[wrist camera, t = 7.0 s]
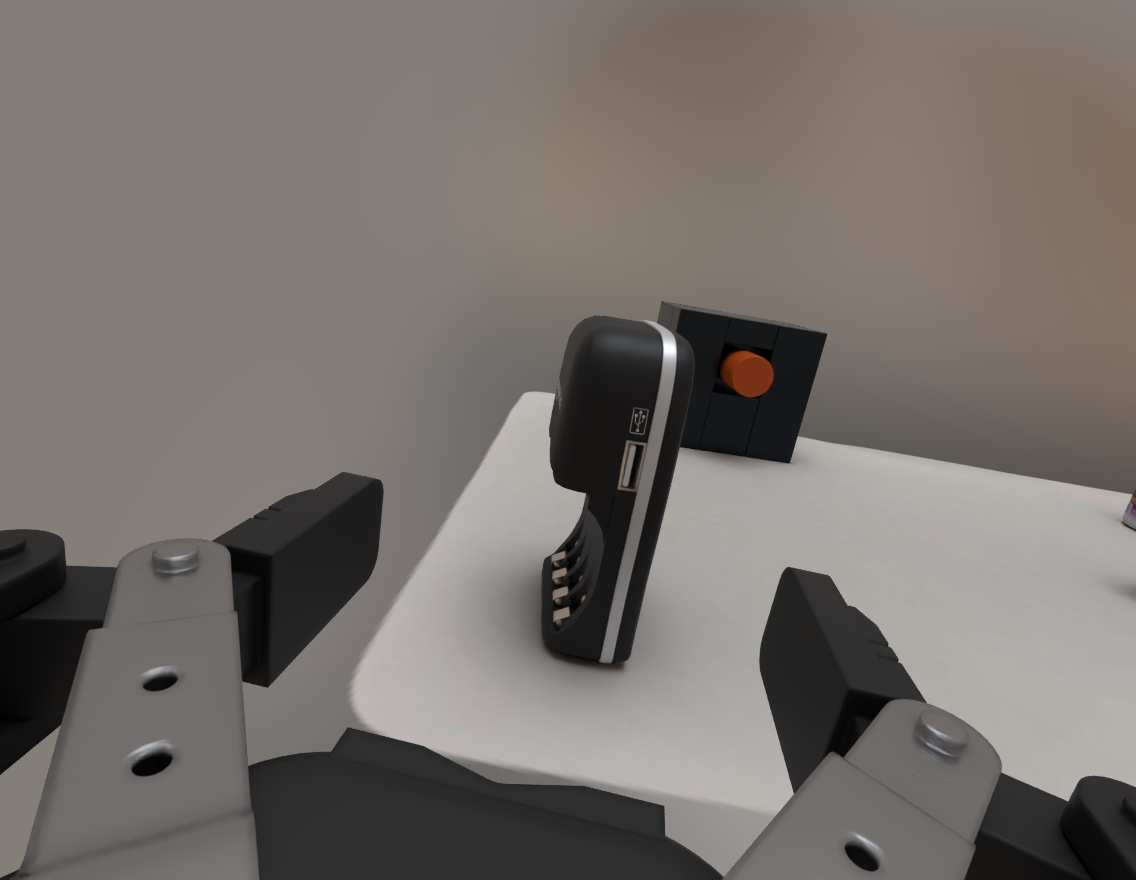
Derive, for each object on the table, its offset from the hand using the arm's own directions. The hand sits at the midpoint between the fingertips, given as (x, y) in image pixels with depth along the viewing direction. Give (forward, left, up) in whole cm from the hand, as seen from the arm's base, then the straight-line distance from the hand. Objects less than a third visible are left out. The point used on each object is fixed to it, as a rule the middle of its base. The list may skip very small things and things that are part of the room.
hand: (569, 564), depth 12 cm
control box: (+8, +43, -7) cm, 44 cm away
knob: (+9, +38, -2) cm, 39 cm away
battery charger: (0, +10, -8) cm, 13 cm away
